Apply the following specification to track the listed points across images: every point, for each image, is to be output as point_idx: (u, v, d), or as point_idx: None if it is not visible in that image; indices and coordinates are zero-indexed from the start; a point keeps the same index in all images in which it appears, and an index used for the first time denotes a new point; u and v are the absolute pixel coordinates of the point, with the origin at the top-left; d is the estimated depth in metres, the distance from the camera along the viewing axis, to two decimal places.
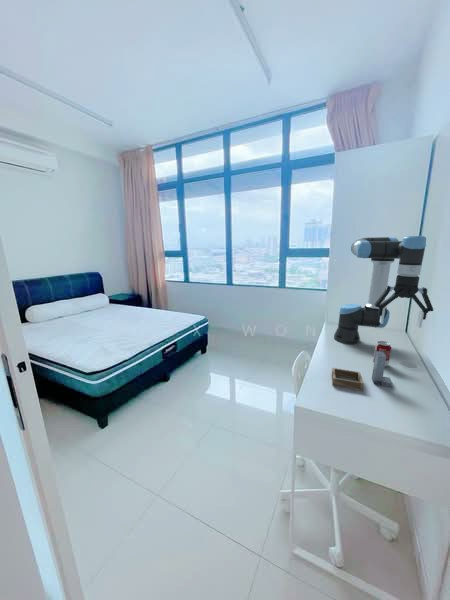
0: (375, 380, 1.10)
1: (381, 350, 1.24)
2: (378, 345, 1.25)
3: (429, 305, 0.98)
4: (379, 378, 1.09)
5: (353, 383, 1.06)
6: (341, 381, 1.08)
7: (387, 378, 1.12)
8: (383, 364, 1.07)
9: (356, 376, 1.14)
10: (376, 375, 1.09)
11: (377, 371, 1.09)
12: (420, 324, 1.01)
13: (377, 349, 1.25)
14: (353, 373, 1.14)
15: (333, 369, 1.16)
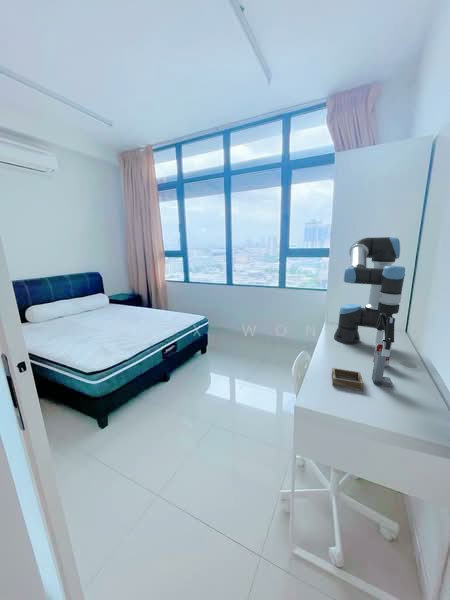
0: (375, 380, 1.10)
1: (381, 350, 1.24)
2: (378, 345, 1.25)
3: (386, 335, 0.99)
4: (379, 378, 1.09)
5: (353, 383, 1.06)
6: (341, 381, 1.08)
7: (387, 378, 1.12)
8: (383, 364, 1.07)
9: (356, 376, 1.14)
10: (376, 375, 1.09)
11: (377, 371, 1.09)
12: (382, 352, 1.02)
13: (377, 349, 1.25)
14: (353, 373, 1.14)
15: (333, 369, 1.16)
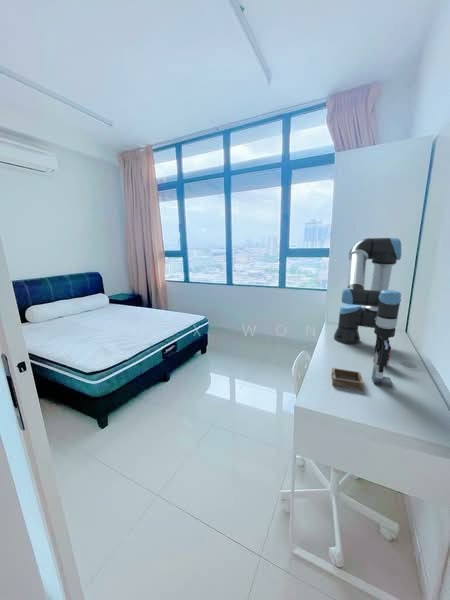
0: (375, 380, 1.10)
1: None
2: None
3: (380, 359, 1.05)
4: (379, 378, 1.09)
5: (353, 383, 1.06)
6: (341, 381, 1.08)
7: (387, 378, 1.12)
8: None
9: (356, 376, 1.14)
10: None
11: None
12: (376, 374, 1.09)
13: None
14: (353, 373, 1.14)
15: (333, 369, 1.16)
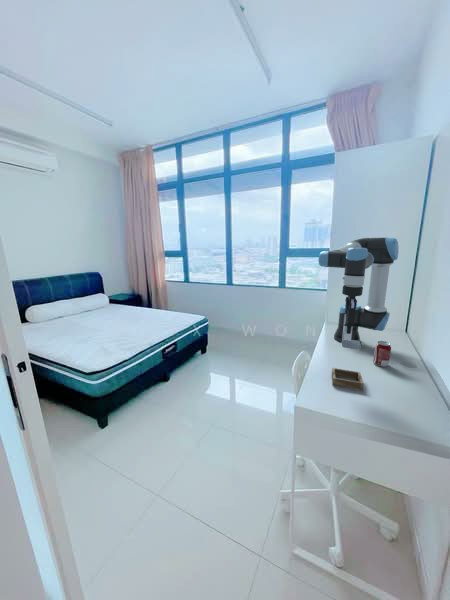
0: (344, 343, 1.06)
1: (381, 350, 1.24)
2: (378, 345, 1.25)
3: (347, 319, 1.01)
4: (347, 340, 1.06)
5: (353, 383, 1.06)
6: (341, 381, 1.08)
7: (356, 341, 1.08)
8: None
9: (356, 376, 1.14)
10: None
11: None
12: (344, 336, 1.05)
13: (377, 349, 1.25)
14: (353, 373, 1.14)
15: (333, 369, 1.16)
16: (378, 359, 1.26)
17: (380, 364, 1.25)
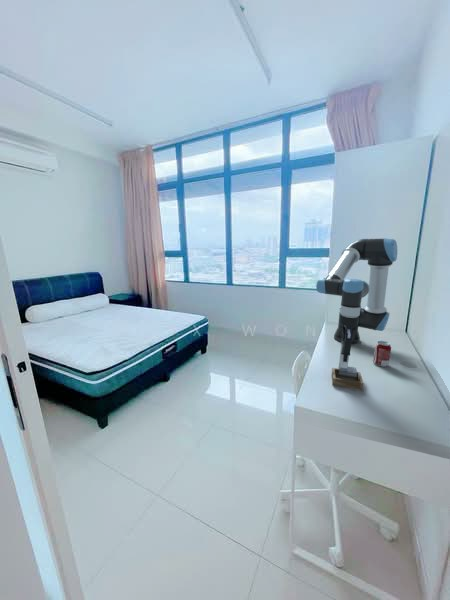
0: (340, 370, 1.09)
1: (381, 350, 1.24)
2: (378, 345, 1.25)
3: (343, 348, 1.04)
4: (344, 368, 1.09)
5: (353, 383, 1.06)
6: (341, 381, 1.08)
7: (353, 368, 1.11)
8: None
9: None
10: None
11: None
12: None
13: (377, 349, 1.25)
14: None
15: (333, 369, 1.16)
16: (378, 359, 1.26)
17: (380, 364, 1.25)
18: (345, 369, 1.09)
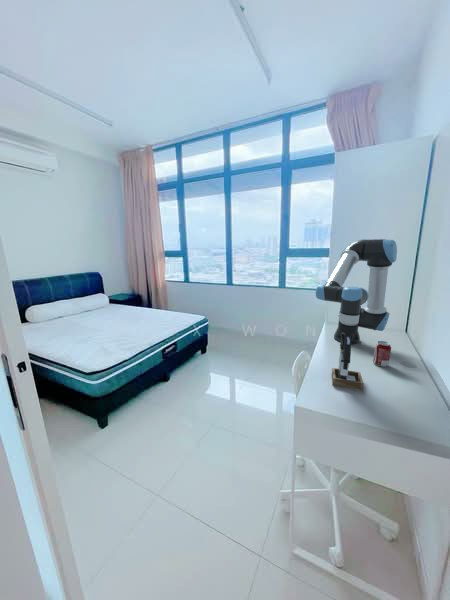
0: None
1: (381, 350, 1.24)
2: (378, 345, 1.25)
3: (343, 356, 1.03)
4: (343, 377, 1.10)
5: (353, 383, 1.06)
6: (341, 381, 1.08)
7: (352, 376, 1.12)
8: None
9: (356, 376, 1.14)
10: (340, 374, 1.10)
11: None
12: None
13: (377, 349, 1.25)
14: (353, 373, 1.14)
15: (333, 369, 1.16)
16: (378, 359, 1.26)
17: (380, 364, 1.25)
18: (344, 378, 1.10)
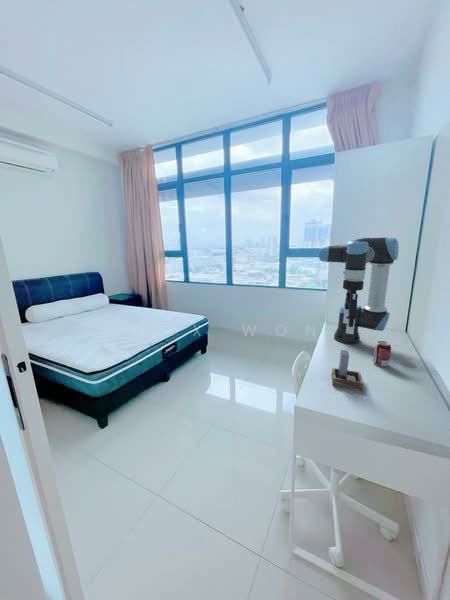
0: None
1: (381, 350, 1.24)
2: (378, 345, 1.25)
3: (349, 311, 0.97)
4: (343, 377, 1.10)
5: (353, 383, 1.06)
6: (341, 381, 1.08)
7: (352, 376, 1.12)
8: (346, 363, 1.08)
9: (356, 376, 1.14)
10: (340, 374, 1.10)
11: (341, 370, 1.09)
12: (346, 329, 1.01)
13: (377, 349, 1.25)
14: (353, 373, 1.14)
15: (333, 369, 1.16)
16: (378, 359, 1.26)
17: (380, 364, 1.25)
18: (344, 378, 1.10)
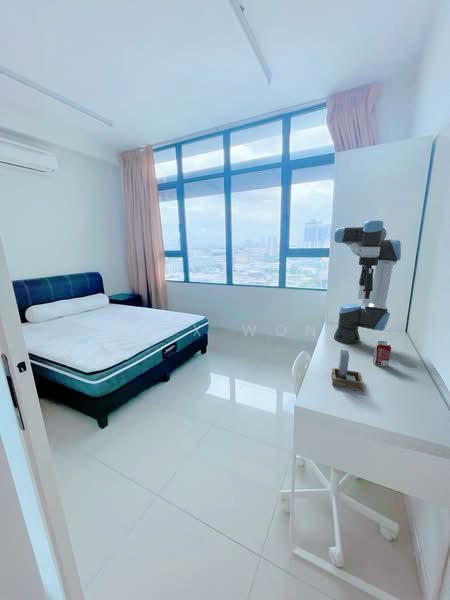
0: None
1: (381, 350, 1.24)
2: (378, 345, 1.25)
3: (365, 284, 1.06)
4: (343, 377, 1.10)
5: (353, 383, 1.06)
6: (341, 381, 1.08)
7: (352, 376, 1.12)
8: (346, 363, 1.08)
9: (356, 376, 1.14)
10: (340, 374, 1.10)
11: (341, 370, 1.09)
12: (362, 302, 1.10)
13: (377, 349, 1.25)
14: (353, 373, 1.14)
15: (333, 369, 1.16)
16: (378, 359, 1.26)
17: (380, 364, 1.25)
18: (344, 378, 1.10)
